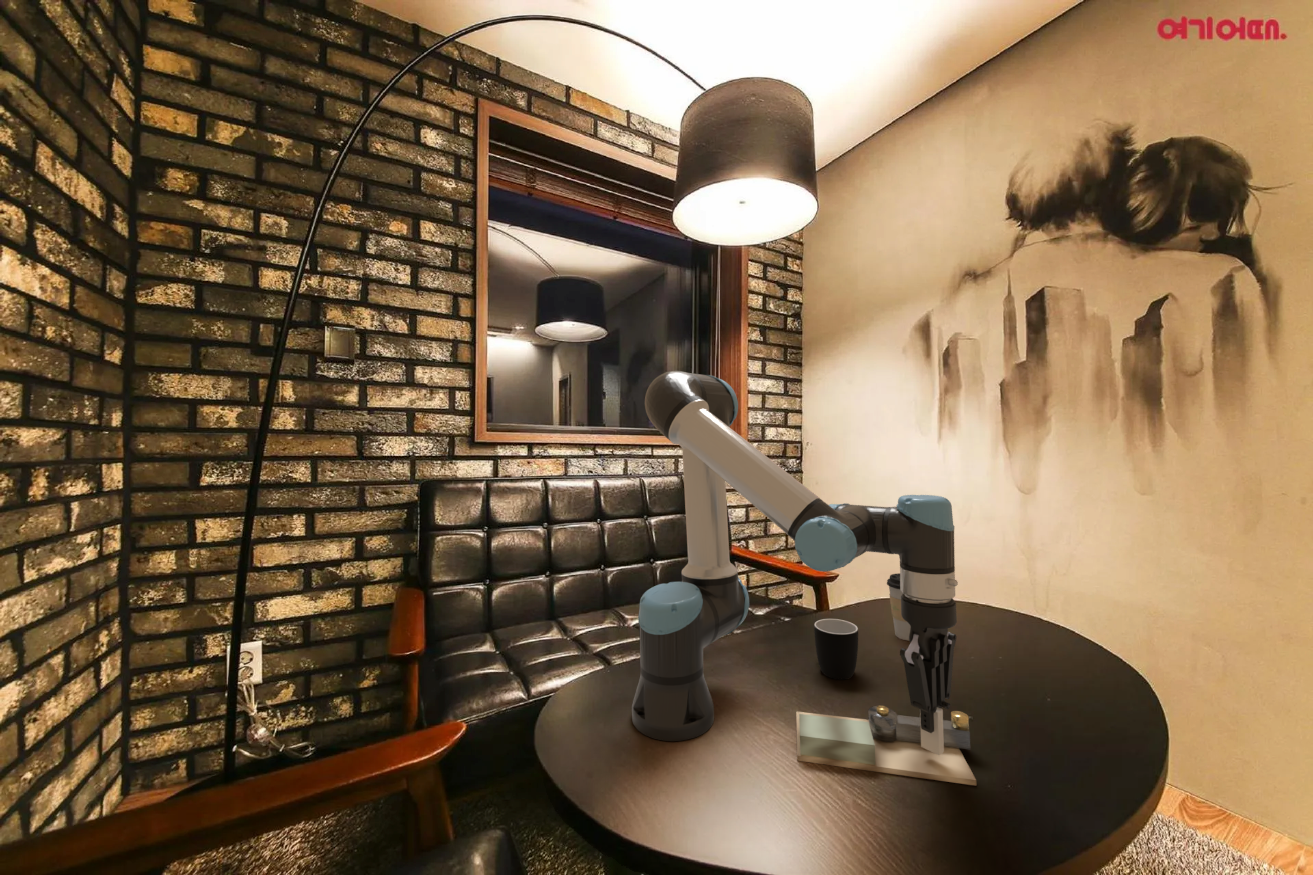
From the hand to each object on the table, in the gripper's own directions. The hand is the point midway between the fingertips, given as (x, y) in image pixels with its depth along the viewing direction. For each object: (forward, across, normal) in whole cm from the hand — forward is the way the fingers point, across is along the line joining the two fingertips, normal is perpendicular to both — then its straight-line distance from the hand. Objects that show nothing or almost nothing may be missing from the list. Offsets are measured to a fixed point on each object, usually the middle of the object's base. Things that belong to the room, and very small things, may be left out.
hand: (932, 748), depth 76 cm
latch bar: (+1, +3, +4) cm, 5 cm away
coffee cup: (+3, +46, +28) cm, 54 cm away
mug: (+3, +15, +29) cm, 33 cm away
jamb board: (+3, -2, +8) cm, 9 cm away
